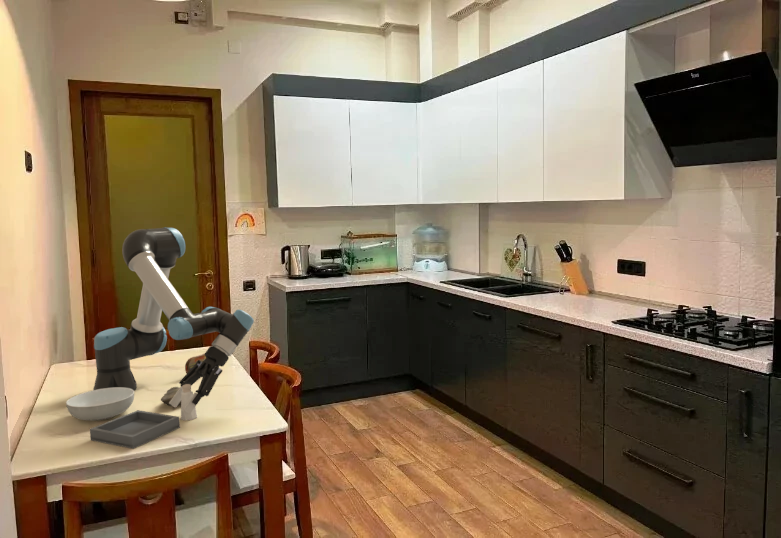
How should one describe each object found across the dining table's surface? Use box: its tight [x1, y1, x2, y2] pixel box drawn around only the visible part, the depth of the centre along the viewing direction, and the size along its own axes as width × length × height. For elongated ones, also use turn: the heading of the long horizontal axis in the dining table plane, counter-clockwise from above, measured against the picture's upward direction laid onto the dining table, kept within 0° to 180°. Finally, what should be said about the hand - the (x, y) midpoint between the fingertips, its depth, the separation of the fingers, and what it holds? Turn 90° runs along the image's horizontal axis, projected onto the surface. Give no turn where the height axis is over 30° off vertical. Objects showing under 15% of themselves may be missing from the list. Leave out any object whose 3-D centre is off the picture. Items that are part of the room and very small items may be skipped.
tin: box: [184, 352, 206, 375], centre depth 257 cm, size 15×3×8 cm, turn 148°
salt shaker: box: [180, 384, 198, 421], centre depth 204 cm, size 5×5×11 cm
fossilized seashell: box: [160, 386, 181, 407], centre depth 219 cm, size 11×11×7 cm
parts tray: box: [89, 409, 181, 450], centre depth 192 cm, size 18×18×4 cm
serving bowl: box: [65, 387, 135, 422], centre depth 210 cm, size 21×21×7 cm
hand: (178, 408), depth 202 cm, fingers open, 9 cm apart
